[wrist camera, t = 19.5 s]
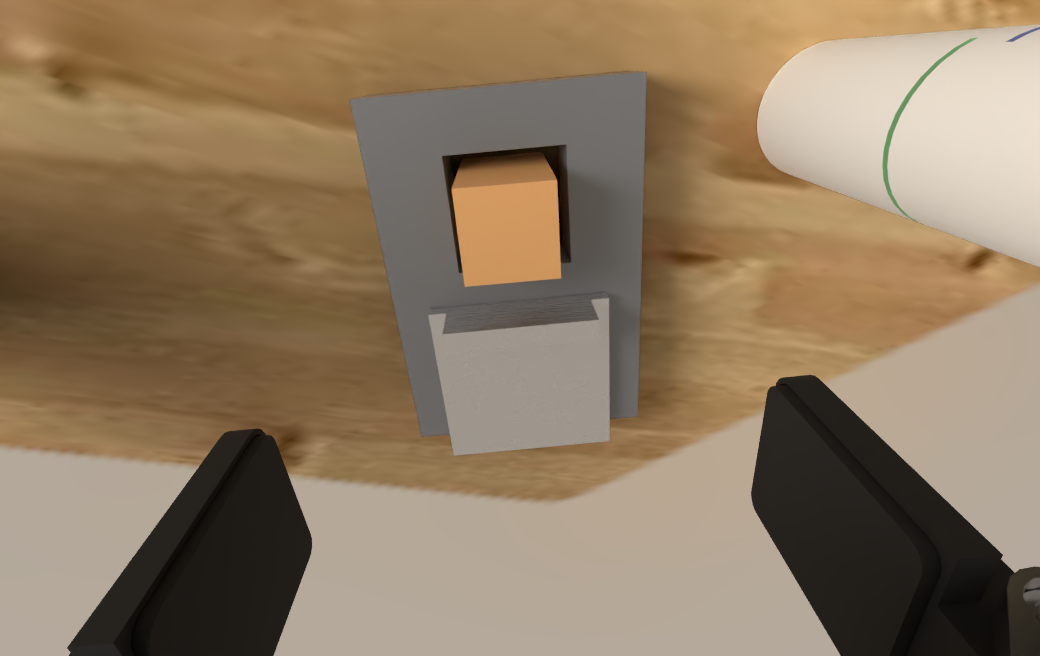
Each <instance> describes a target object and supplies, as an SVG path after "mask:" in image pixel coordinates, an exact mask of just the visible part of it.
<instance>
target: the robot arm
mask: <svg viewBox="0 0 1040 656" xmlns="http://www.w3.org/2000/svg"><path fill="white" fill-rule="evenodd" d="M751 496H752V502H753V506H754V509H755V511H756V513H757V515H758V516H759V518H760V520H761V522H762V523H763V525H764V527H765V528H766V530H767V531H768V533H769V535H770V537H771V538H772V540H773V542H774V543H775V545H776V547H777V549H778V550H779V552H780V554H781V555H782V557H783V559H784V560H785V562H786V564H787V565H788V567H789V569H790V570H791V572H792V574H793V575H794V577H795V579H796V581H797V582H798V584H799V586H800V587H801V589H802V591H803V592H804V594H805V596H806V598H807V599H808V601H809V602H810V604H811V606H812V608H813V609H814V611H815V613H816V614H817V616H818V618H819V619H820V621H821V623H822V625H823V626H824V628H825V630H826V631H827V633H828V635H829V636H830V638H831V640H832V641H833V643H834V645H835V647H836V648H837V650H838V651H839V653H840V655H841V656H1040V567H1030V568H1024V569H1019V570H1018V571H1017V572H1016V573H1014V572H1013V571H1012V570H1011V569H1010V568H1009V567H1008V566H1007V565H1006V564H1005V563H1004V562H1003V561H1002V560H1001V558H1002V556H1003V555H1002V554H1001V553H1000V552H999V551H998V550H997V549H996V548H995V547H994V546H993V545H992V544H991V543H990V542H989V541H988V540H987V539H985V537H984V536H982V534H980V533H979V532H978V531H977V530H976V529H975V528H974V527H973V526H972V525H971V524H970V523H969V522H968V521H967V520H966V519H965V518H964V517H963V516H962V515H961V514H960V513H958V512H957V511H956V510H955V509H954V508H953V507H952V506H951V505H950V504H949V503H948V502H947V501H946V500H945V499H944V498H943V497H942V496H941V495H940V494H939V493H938V492H937V491H935V489H933V488H932V487H931V486H930V485H929V484H928V483H927V482H926V481H925V480H924V479H923V478H922V477H921V476H920V475H919V474H918V473H917V472H916V471H915V470H914V469H912V467H911V466H909V465H908V464H907V463H906V462H905V461H904V460H903V459H902V458H901V457H900V456H899V455H898V454H897V453H896V452H895V451H894V450H893V449H892V448H891V447H890V446H889V445H887V444H886V443H885V442H884V441H883V440H882V439H881V438H880V437H879V436H878V435H877V434H876V433H875V432H874V431H873V430H872V429H871V428H870V427H869V426H868V425H867V424H866V423H864V421H862V420H861V419H860V418H859V417H858V416H857V415H856V414H855V413H854V412H853V411H852V410H851V409H850V408H849V407H848V406H847V405H846V404H845V403H844V402H843V401H841V399H839V398H838V397H837V396H836V395H835V394H834V393H833V392H832V391H831V390H830V389H829V388H828V387H827V386H826V385H825V384H824V383H823V382H822V381H821V380H820V379H819V378H817V377H816V376H813V375H805V376H795V377H785V378H781V379H779V380H778V382H777V383H776V386H772V387H770V389H769V390H768V393H767V399H766V405H765V411H764V417H763V424H762V430H761V436H760V442H759V449H758V454H757V460H756V466H755V473H754V479H753V485H752V491H751ZM311 549H312V538H311V534H310V531H309V529H308V526H307V524H306V521H305V518H304V516H303V513H302V510H301V508H300V505H299V502H298V500H297V497H296V495H295V492H294V489H293V486H292V484H291V481H290V478H289V476H288V473H287V471H286V468H285V465H284V463H283V460H282V457H281V455H280V452H279V449H278V447H277V444H276V442H275V440H274V438H273V437H272V436H270V435H267V436H266V435H265V433H264V432H263V431H262V430H261V429H248V430H238V431H229V432H226V433H224V434H223V435H222V436H221V438H220V439H219V440H218V442H217V443H216V444H215V446H214V447H213V449H212V450H211V451H210V453H209V454H208V455H207V457H206V458H205V459H204V461H203V462H202V464H201V465H200V466H199V468H198V469H197V470H196V472H195V473H194V475H193V476H192V477H191V479H190V480H189V482H188V483H187V484H186V486H185V487H184V488H183V490H182V491H181V493H180V494H179V495H178V497H177V498H176V499H175V501H174V502H173V503H172V505H171V506H170V508H169V509H168V510H167V512H166V513H165V514H164V516H163V517H162V518H161V520H160V521H159V523H158V524H157V525H156V527H155V528H154V529H153V531H152V532H151V534H150V535H149V536H148V538H147V539H146V541H145V542H144V543H143V545H142V546H141V547H140V549H139V550H138V551H137V553H136V554H135V556H134V557H133V558H132V560H131V561H130V562H129V564H128V565H127V566H126V568H125V569H124V571H123V572H122V573H121V575H120V576H119V578H118V579H117V580H116V582H115V583H114V584H113V586H112V587H111V588H110V590H109V591H108V593H107V594H106V595H105V597H104V598H103V599H102V601H101V602H100V604H99V605H98V606H97V608H96V609H95V610H94V612H93V613H92V614H91V616H90V617H89V619H88V620H87V622H86V623H85V624H84V626H83V627H82V628H81V630H80V631H79V632H78V634H77V635H76V636H75V638H74V639H73V641H72V642H71V643H70V645H69V646H68V650H69V651H70V652H71V653H70V655H69V656H273V655H274V652H275V650H276V647H277V644H278V642H279V638H280V636H281V633H282V631H283V628H284V625H285V623H286V620H287V617H288V615H289V612H290V609H291V606H292V604H293V601H294V598H295V596H296V593H297V590H298V588H299V585H300V582H301V579H302V577H303V574H304V571H305V568H306V566H307V563H308V561H309V558H310V555H311Z"/></svg>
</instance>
